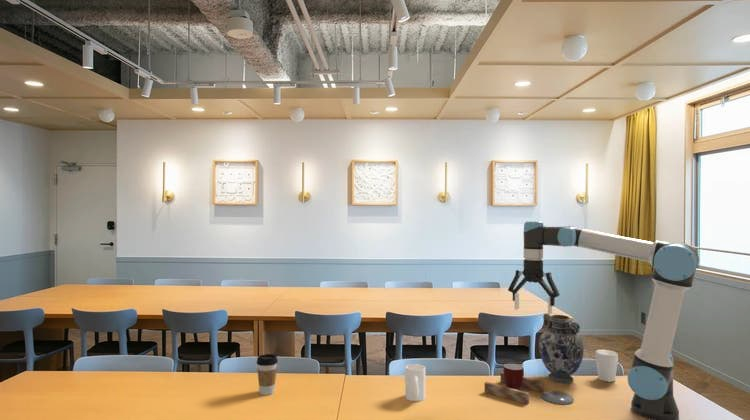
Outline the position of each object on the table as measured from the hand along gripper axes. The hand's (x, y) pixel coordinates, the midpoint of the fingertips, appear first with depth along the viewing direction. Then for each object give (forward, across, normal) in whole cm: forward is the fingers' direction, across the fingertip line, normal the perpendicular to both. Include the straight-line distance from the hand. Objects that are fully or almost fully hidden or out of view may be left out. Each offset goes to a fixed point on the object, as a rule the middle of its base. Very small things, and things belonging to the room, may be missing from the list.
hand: (533, 311), depth 183 cm
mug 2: (+34, +8, +1) cm, 35 cm away
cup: (+34, -18, -40) cm, 56 cm away
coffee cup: (+34, +84, +68) cm, 114 cm away
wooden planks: (+34, +8, +1) cm, 35 cm away
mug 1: (+34, +34, +34) cm, 59 cm away
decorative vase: (+34, -2, -27) cm, 44 cm away
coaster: (+34, -8, -4) cm, 35 cm away
